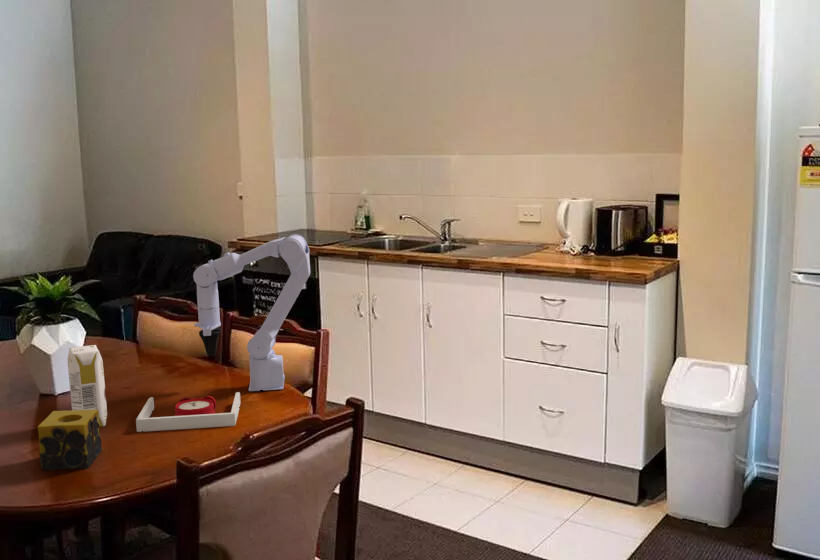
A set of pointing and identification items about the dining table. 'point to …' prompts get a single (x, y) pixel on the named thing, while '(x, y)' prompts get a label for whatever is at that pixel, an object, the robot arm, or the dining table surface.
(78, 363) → the juice carton
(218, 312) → the robot arm
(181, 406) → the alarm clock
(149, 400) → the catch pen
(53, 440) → the yellow patterned cube
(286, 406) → the dining table surface
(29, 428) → the dining table surface
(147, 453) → the dining table surface
